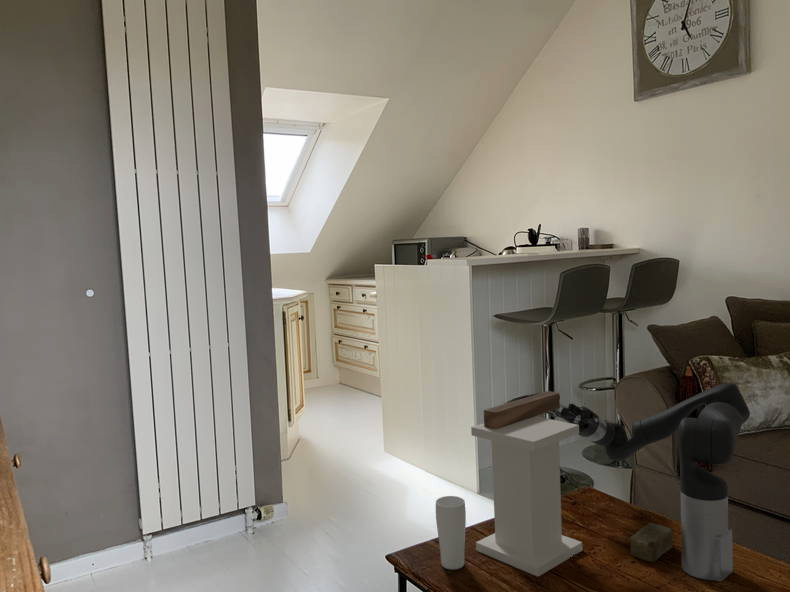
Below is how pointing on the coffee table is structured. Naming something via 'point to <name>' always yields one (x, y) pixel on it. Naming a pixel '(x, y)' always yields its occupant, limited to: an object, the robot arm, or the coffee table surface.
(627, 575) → the coffee table surface
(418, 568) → the coffee table surface
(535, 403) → the walnut bar
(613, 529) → the coffee table surface
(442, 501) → the drinking glass
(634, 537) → the stone block
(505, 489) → the shelf stand
